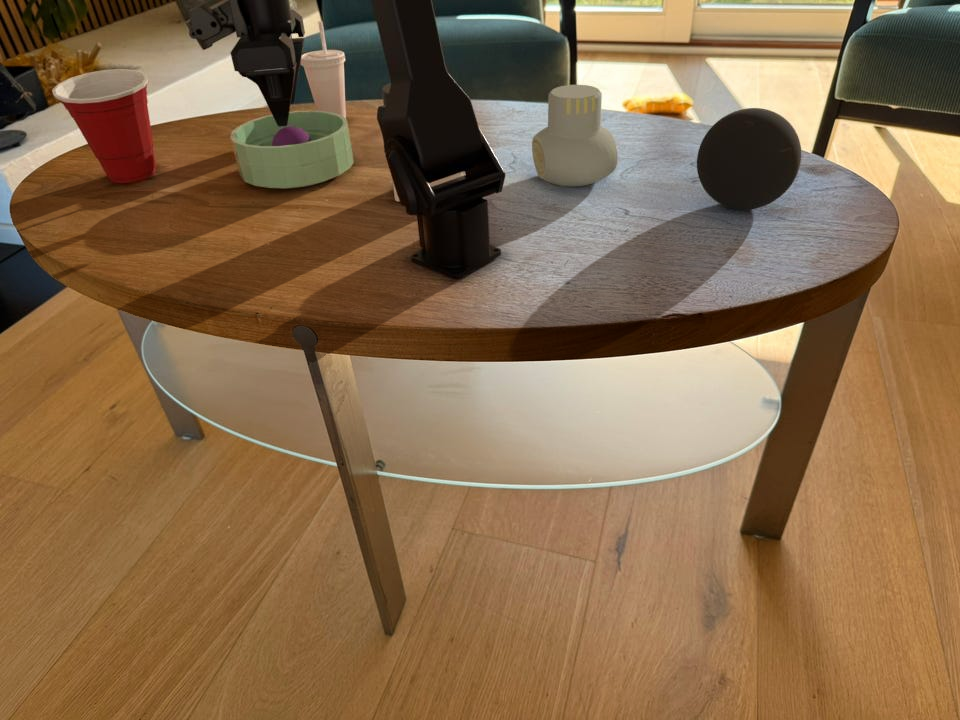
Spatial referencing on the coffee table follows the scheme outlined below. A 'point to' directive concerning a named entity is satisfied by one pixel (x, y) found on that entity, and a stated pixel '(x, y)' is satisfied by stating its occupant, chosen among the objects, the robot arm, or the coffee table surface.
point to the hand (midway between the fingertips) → (286, 114)
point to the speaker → (749, 158)
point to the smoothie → (326, 77)
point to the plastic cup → (113, 120)
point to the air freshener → (574, 139)
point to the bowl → (293, 150)
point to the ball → (290, 136)
